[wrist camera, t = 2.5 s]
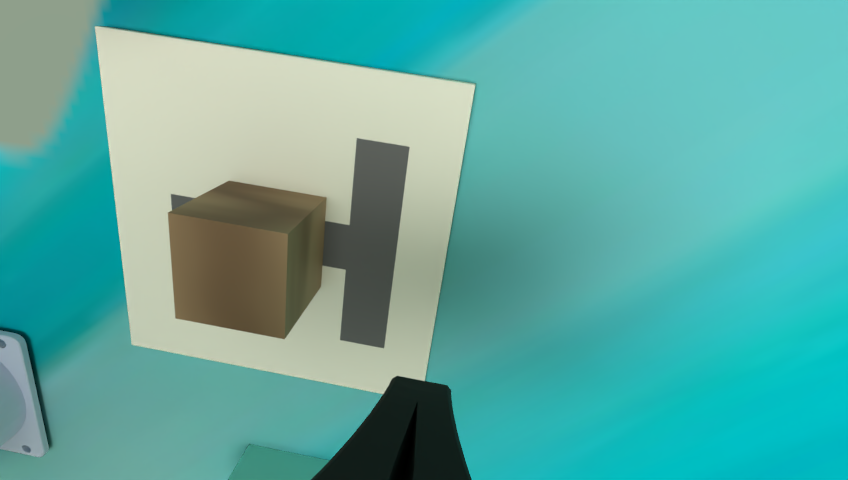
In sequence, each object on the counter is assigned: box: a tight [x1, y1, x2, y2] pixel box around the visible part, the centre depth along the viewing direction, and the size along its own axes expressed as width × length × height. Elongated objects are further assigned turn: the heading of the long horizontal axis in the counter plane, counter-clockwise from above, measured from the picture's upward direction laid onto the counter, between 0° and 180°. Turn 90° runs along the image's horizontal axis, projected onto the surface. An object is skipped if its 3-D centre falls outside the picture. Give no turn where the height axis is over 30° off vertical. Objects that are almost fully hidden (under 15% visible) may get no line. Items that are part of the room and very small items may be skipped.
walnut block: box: [168, 181, 327, 339], centre depth 18 cm, size 4×4×4 cm
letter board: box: [95, 26, 476, 394], centre depth 20 cm, size 14×14×1 cm
